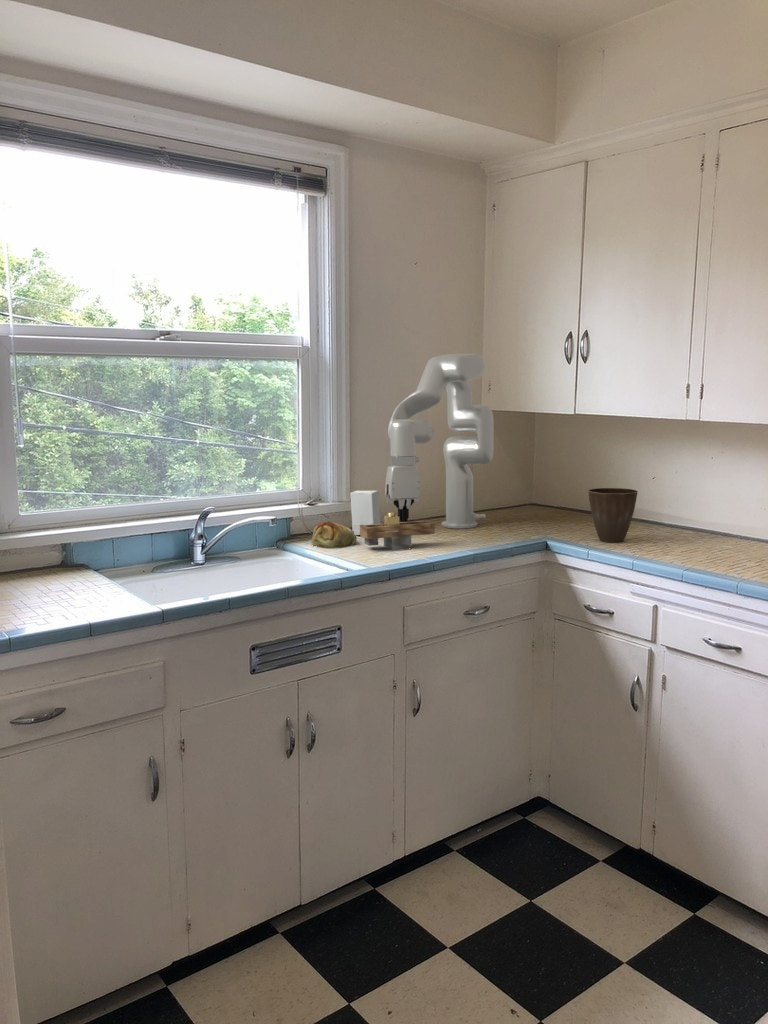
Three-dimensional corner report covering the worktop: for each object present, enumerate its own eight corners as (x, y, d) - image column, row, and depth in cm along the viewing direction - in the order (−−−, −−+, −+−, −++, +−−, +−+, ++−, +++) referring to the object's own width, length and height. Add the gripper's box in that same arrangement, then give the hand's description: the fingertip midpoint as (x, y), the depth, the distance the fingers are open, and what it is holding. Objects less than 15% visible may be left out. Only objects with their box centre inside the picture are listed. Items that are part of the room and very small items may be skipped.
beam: (425, 542, 258) (425, 519, 257) (435, 546, 250) (435, 523, 249) (359, 547, 250) (359, 524, 249) (368, 552, 243) (367, 528, 242)
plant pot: (577, 541, 257) (579, 490, 255) (602, 534, 267) (603, 486, 265) (620, 547, 247) (622, 494, 244) (644, 540, 257) (646, 490, 255)
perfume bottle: (396, 527, 251) (396, 511, 250) (399, 529, 248) (399, 513, 247) (384, 528, 249) (383, 512, 249) (387, 530, 247) (387, 514, 246)
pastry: (307, 548, 250) (307, 523, 249) (315, 541, 263) (315, 516, 261) (352, 549, 249) (352, 523, 248) (358, 541, 261) (358, 517, 260)
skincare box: (381, 534, 273) (380, 490, 271) (373, 537, 267) (373, 492, 265) (358, 532, 276) (357, 489, 274) (350, 535, 271) (349, 491, 268)
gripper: (420, 459, 253) (420, 518, 256) (375, 461, 248) (376, 521, 251) (430, 461, 246) (430, 521, 249) (384, 463, 241) (384, 524, 244)
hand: (403, 521), depth 250 cm, fingers closed
